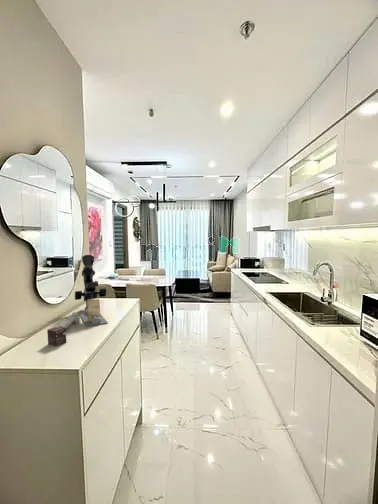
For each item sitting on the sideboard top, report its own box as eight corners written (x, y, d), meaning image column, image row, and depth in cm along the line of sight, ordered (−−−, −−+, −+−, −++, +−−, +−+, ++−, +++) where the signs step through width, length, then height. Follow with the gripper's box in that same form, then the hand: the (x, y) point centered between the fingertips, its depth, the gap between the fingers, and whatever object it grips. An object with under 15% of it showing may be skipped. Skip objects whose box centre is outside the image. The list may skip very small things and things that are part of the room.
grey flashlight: (51, 328, 154) (72, 309, 179) (53, 340, 156) (73, 320, 180) (61, 328, 154) (80, 309, 179) (62, 340, 155) (82, 320, 180)
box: (55, 346, 138) (54, 331, 138) (47, 344, 141) (46, 329, 141) (66, 342, 143) (66, 327, 143) (59, 340, 146) (58, 325, 146)
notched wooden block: (88, 319, 180) (87, 299, 179) (98, 317, 182) (97, 298, 182) (89, 321, 175) (88, 301, 174) (100, 319, 178) (99, 299, 177)
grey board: (79, 315, 194) (79, 309, 194) (98, 312, 199) (98, 307, 199) (86, 326, 167) (85, 320, 167) (107, 323, 173) (107, 317, 172)
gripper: (74, 278, 181) (77, 299, 171) (105, 275, 189) (109, 295, 180) (73, 289, 188) (76, 310, 179) (103, 286, 196) (107, 305, 187)
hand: (92, 305), depth 181 cm, fingers closed
